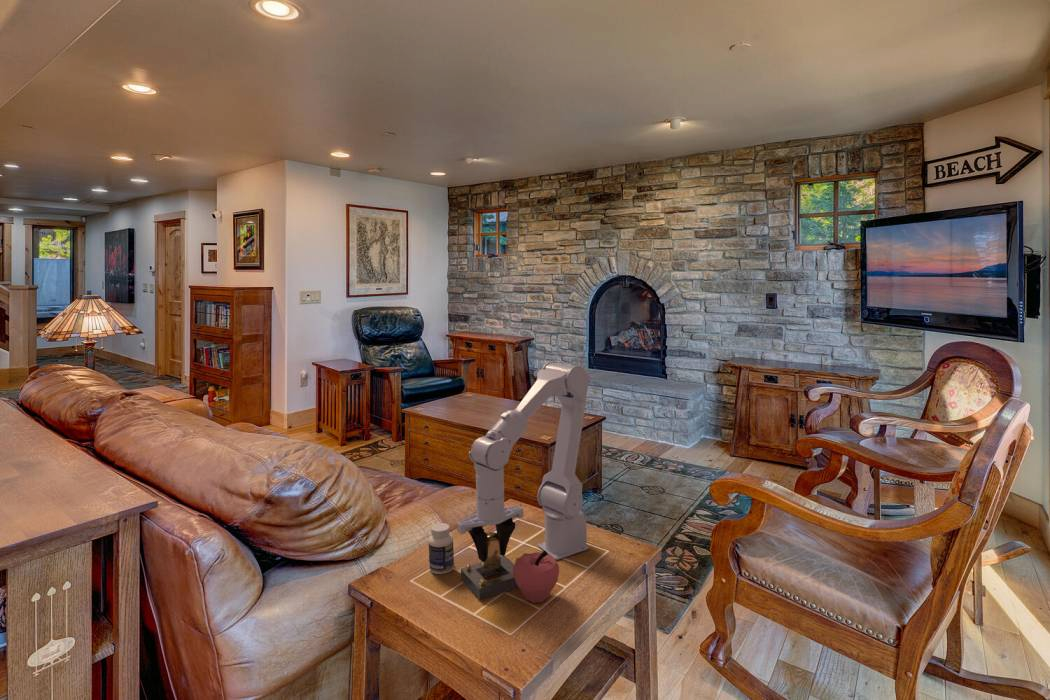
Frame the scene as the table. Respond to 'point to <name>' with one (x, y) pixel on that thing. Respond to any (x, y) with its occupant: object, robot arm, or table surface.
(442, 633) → the table surface
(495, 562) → the brass cylinder
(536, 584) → the apple
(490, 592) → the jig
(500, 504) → the robot arm
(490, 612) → the table surface
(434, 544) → the pill bottle
